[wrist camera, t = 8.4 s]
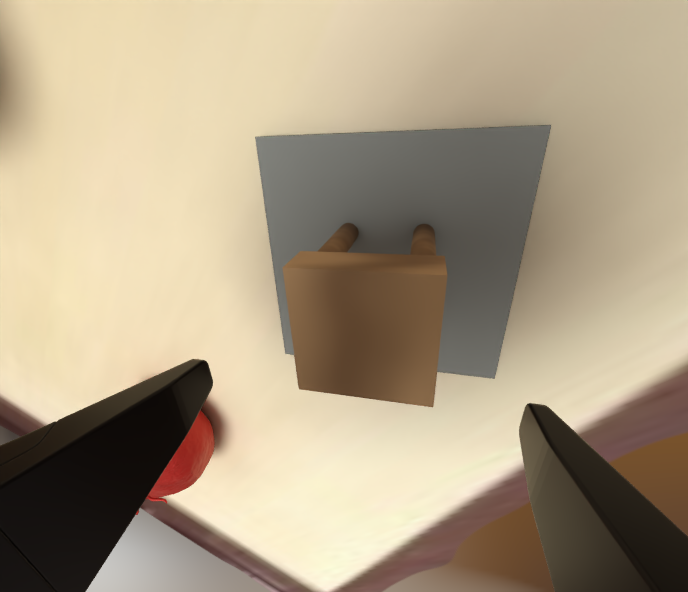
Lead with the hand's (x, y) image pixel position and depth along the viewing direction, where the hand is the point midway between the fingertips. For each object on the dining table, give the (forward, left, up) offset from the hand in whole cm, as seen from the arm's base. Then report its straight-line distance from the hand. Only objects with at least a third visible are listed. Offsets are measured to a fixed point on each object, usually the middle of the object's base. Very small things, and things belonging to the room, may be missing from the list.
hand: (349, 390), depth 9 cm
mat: (0, +1, -12) cm, 12 cm away
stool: (0, +1, -12) cm, 12 cm away
